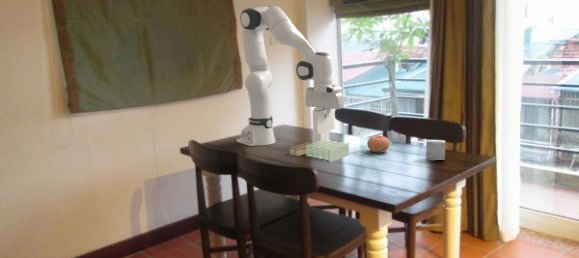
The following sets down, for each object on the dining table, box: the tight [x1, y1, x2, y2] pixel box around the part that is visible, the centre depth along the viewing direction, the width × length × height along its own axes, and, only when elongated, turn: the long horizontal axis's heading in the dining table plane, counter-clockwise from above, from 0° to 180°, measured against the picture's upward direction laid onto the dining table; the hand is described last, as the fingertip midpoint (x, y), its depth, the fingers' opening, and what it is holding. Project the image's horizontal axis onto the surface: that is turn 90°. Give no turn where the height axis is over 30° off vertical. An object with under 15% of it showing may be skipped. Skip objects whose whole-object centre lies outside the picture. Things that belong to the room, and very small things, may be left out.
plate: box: [313, 107, 335, 134], centre depth 222 cm, size 2×13×12 cm, turn 138°
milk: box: [312, 107, 330, 143], centre depth 241 cm, size 6×6×22 cm
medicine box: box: [425, 139, 446, 161], centre depth 212 cm, size 8×4×9 cm, turn 71°
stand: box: [289, 141, 313, 157], centre depth 231 cm, size 6×16×4 cm, turn 138°
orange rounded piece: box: [366, 135, 391, 154], centre depth 229 cm, size 11×11×8 cm
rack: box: [305, 139, 350, 163], centre depth 224 cm, size 14×15×6 cm
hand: (324, 117), depth 221 cm, fingers closed on plate, 2 cm apart
